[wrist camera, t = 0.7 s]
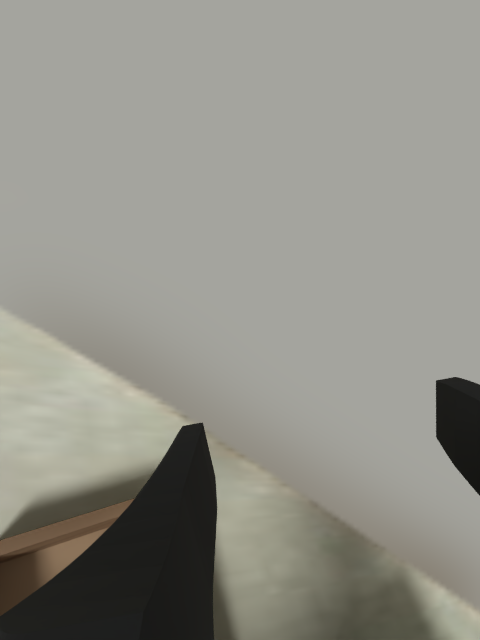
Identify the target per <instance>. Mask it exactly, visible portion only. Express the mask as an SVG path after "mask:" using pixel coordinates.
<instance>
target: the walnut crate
mask: <svg viewBox="0 0 480 640" xmlns="http://www.w3.org/2000/svg"><path fill="white" fill-rule="evenodd" d="M134 499H135V498H134ZM134 499H131V500H128V501H124V502H121V503H118V504H115V505H112V506H108V507H105V508H102V509H99V510H96V511H92V512H89V513H86V514H83V515H80V516H76V517H73V518H70V519H67V520H64V521H60V522H57V523H54V524H51V525H47V526H44V527H41V528H38V529H35V530H31V531H28V532H25V533H22V534H19V535H15V536H12V537H9V538H6V539H3V540H0V616H1V615H3V614H4V613H6V612H7V611H9V610H10V609H11V608H13V607H14V606H15V605H17V604H18V603H20V602H21V601H22V600H24V599H25V598H27V597H28V596H29V595H31V594H32V593H33V592H35V591H36V590H38V589H39V588H40V587H42V586H43V585H44V584H46V583H47V582H48V581H49V580H51V579H52V578H53V577H55V576H56V575H57V574H58V573H59V572H61V571H62V570H63V569H64V568H66V567H67V566H68V565H69V564H70V563H72V562H73V561H74V560H75V559H76V558H77V557H78V556H80V555H81V554H82V553H83V552H84V551H85V550H86V549H87V548H88V547H90V546H91V545H92V544H93V543H94V542H95V541H96V540H97V539H98V538H99V537H100V536H101V535H102V534H103V533H104V532H105V531H106V530H107V529H108V528H109V527H110V526H111V525H112V524H113V523H114V522H115V521H116V520H117V519H118V518H119V516H120V515H121V514H122V513H123V512H124V511H125V510H126V509H127V507H128V506H129V505H130V504H131V503H132V501H133V500H134Z"/></svg>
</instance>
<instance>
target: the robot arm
mask: <svg viewBox="0 0 480 640" xmlns="http://www.w3.org/2000/svg"><path fill="white" fill-rule="evenodd" d="M436 437H437V439H438V440H439V442H440V444H441V445H442V447H443V449H444V450H445V452H446V454H447V455H448V456H449V458H450V459H451V461H452V463H453V464H454V465H455V467H456V468H457V469H458V470H459V472H460V473H461V474H462V475H463V476H464V478H465V479H466V480H467V481H468V482H469V484H470V485H471V486H472V487H473V488H474V489H475V491H476V492H477V493H478V494H479V495H480V385H479V384H476V383H474V382H471V381H468V380H465V379H461V378H457V377H453V378H448V379H443V380H437V381H436ZM216 521H217V497H216V481H215V474H214V469H213V465H212V461H211V456H210V452H209V448H208V443H207V439H206V435H205V430H204V426H203V423H197V424H192V425H186V426H183V427H182V428H181V429H180V431H179V433H178V434H177V436H176V438H175V440H174V441H173V443H172V445H171V446H170V448H169V450H168V451H167V453H166V455H165V456H164V458H163V459H162V461H161V462H160V464H159V465H158V467H157V469H156V470H155V472H154V473H153V475H152V476H151V477H150V479H149V480H148V481H147V483H146V484H145V486H144V487H143V488H142V490H141V491H140V492H139V494H138V495H137V496H136V498H135V499H134V500H133V501H132V503H131V504H130V505H129V506H128V507H127V509H126V510H125V511H124V512H123V513H122V514H121V515H120V516H119V518H118V519H117V520H116V521H115V522H114V523H113V524H112V525H111V526H110V527H109V528H108V529H107V530H106V531H105V532H104V533H103V534H102V535H101V536H100V537H99V538H98V539H97V540H96V541H95V542H94V543H93V544H92V545H91V546H90V547H88V548H87V549H86V550H85V551H84V552H83V553H82V554H81V555H80V556H78V557H77V558H76V559H75V560H74V561H73V562H72V563H70V564H69V565H68V566H67V567H66V568H64V569H63V570H62V571H61V572H59V573H58V574H57V575H56V576H55V577H53V578H52V579H51V580H49V581H48V582H47V583H46V584H44V585H43V586H42V587H40V588H39V589H38V590H36V591H35V592H33V593H32V594H31V595H29V596H28V597H27V598H25V599H24V600H22V601H21V602H20V603H18V604H17V605H15V606H14V607H13V608H11V609H10V610H9V611H7V612H6V613H4V614H3V615H1V616H0V640H214V631H213V573H214V556H215V539H216Z"/></svg>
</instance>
